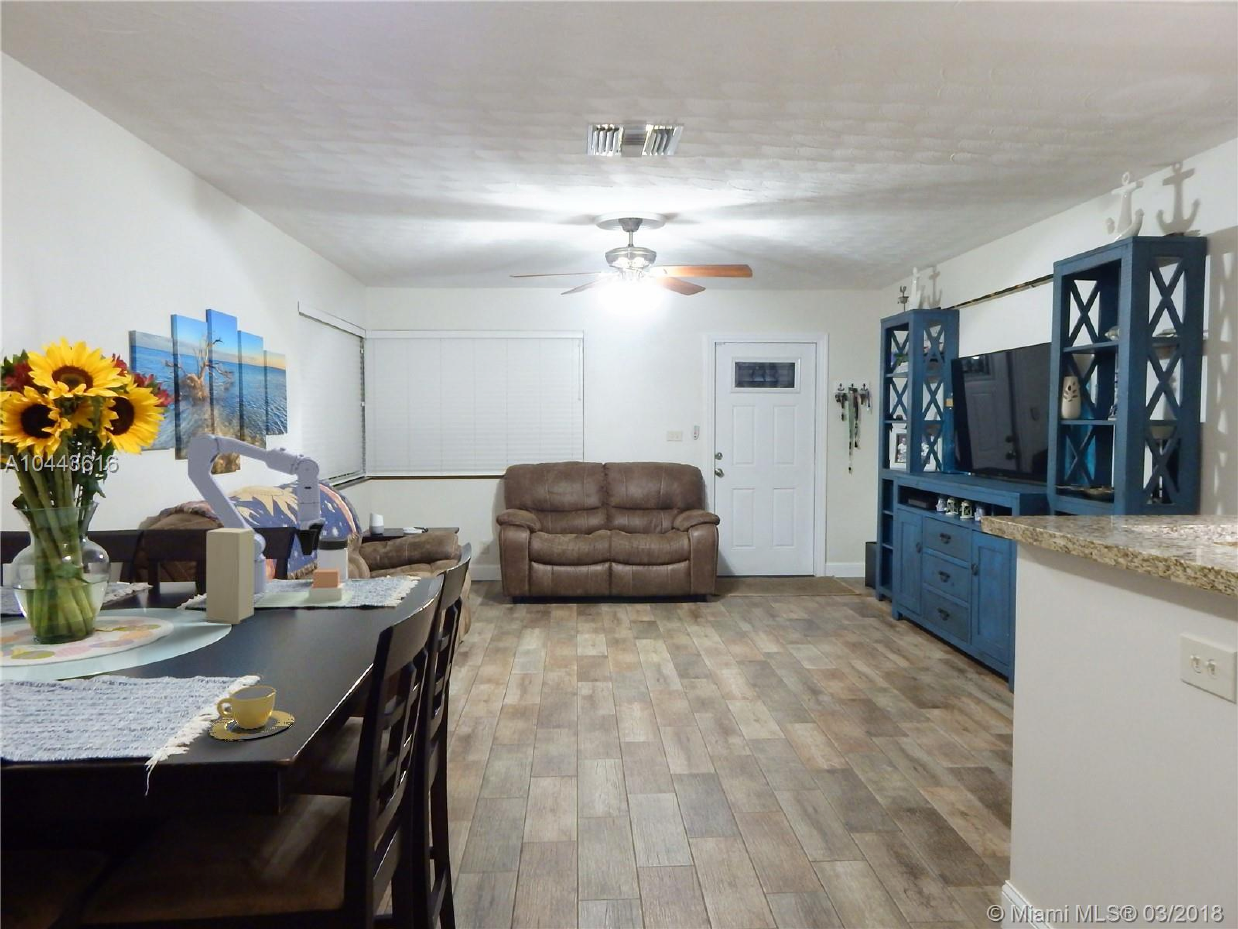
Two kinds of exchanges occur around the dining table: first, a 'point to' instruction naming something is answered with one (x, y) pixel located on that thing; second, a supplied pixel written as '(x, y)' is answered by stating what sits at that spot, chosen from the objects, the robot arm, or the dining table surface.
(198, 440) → the robot arm
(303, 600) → the baseplate
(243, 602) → the beige tall rectangular block
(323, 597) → the base brick
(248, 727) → the cup
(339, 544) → the jar
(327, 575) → the top brick
